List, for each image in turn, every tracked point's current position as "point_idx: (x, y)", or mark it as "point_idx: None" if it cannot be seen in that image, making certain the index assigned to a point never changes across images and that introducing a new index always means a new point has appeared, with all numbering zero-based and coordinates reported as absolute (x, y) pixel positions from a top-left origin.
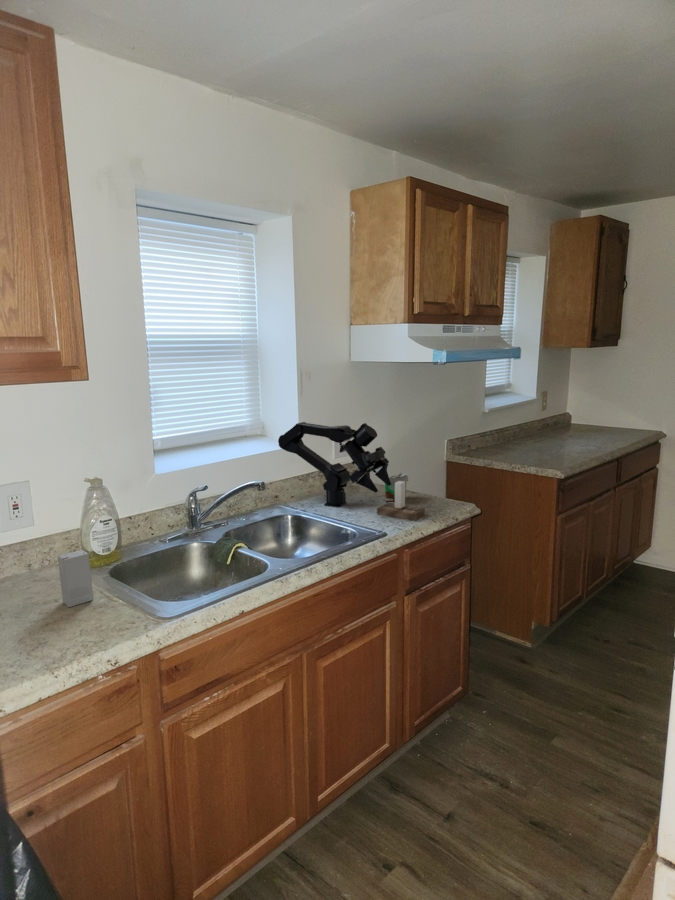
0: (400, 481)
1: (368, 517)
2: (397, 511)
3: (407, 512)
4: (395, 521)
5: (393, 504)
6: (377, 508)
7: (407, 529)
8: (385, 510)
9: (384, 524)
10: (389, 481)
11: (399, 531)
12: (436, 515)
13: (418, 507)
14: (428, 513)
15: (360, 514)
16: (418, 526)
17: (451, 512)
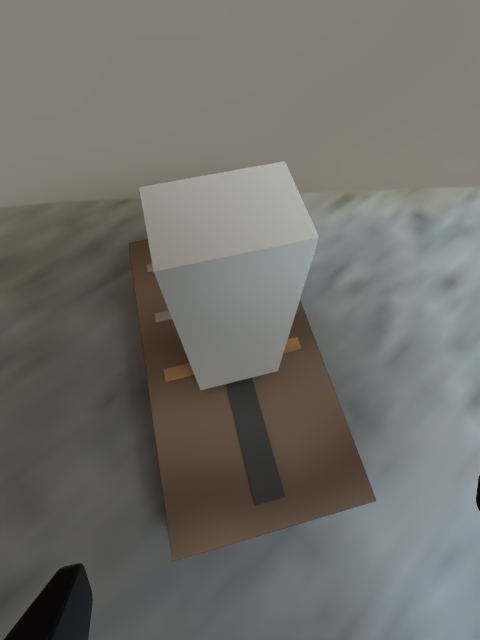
0: (182, 231)
1: (455, 496)
2: (307, 320)
3: None
4: (355, 307)
5: (186, 465)
6: (371, 495)
7: (393, 199)
8: (341, 415)
9: (446, 314)
10: (53, 614)
11: (444, 204)
12: (106, 230)
13: (137, 278)
14: (97, 275)
15: (470, 625)
16: (320, 193)
17: (11, 212)
